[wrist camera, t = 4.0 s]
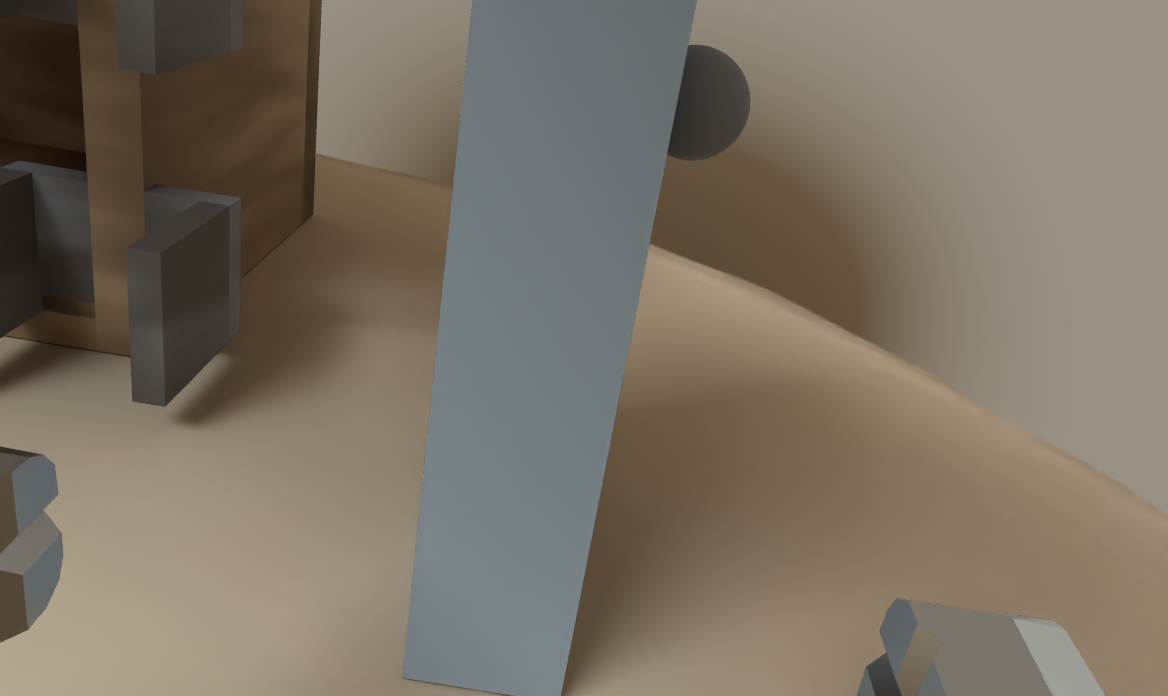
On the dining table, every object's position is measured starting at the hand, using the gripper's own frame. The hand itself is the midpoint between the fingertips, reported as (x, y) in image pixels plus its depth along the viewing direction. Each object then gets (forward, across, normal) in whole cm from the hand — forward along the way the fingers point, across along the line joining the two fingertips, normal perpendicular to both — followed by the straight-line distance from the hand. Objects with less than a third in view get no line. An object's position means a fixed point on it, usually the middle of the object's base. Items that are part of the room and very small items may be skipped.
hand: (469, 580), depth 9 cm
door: (+11, 0, +8) cm, 13 cm away
